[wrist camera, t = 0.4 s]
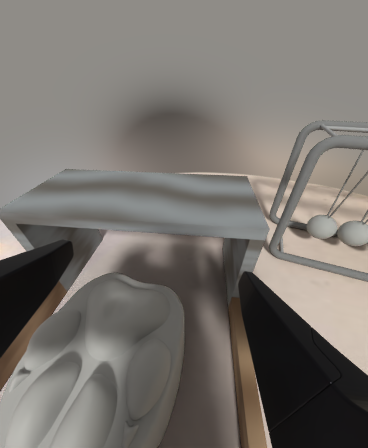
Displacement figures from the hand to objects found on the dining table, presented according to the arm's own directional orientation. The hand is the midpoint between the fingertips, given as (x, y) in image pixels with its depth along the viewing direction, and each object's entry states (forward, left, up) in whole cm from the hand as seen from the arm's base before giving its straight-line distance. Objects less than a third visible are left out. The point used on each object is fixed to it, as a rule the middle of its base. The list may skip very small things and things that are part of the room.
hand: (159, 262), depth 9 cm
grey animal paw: (-3, +4, -15) cm, 15 cm away
